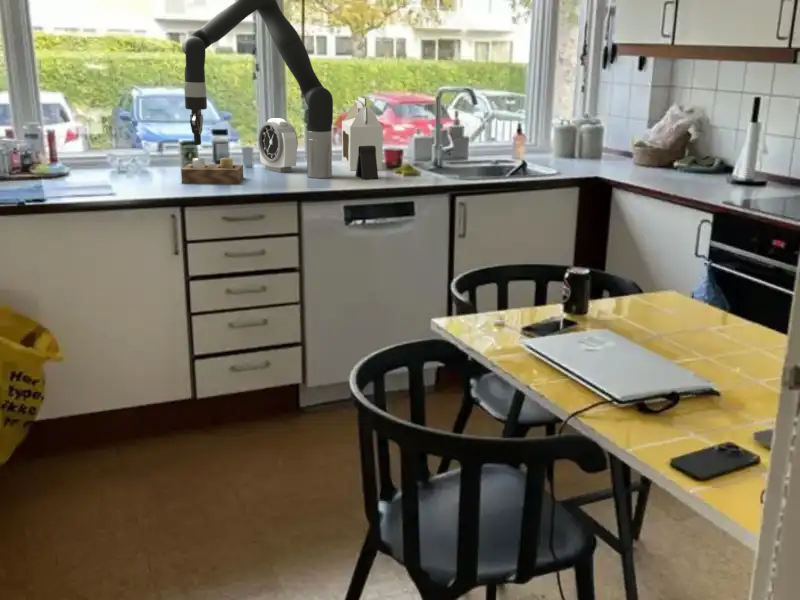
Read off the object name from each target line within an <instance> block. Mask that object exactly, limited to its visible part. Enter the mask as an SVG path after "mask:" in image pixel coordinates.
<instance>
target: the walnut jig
mask: <svg viewBox="0 0 800 600" xmlns="http://www.w3.org/2000/svg"><path fill="white" fill-rule="evenodd" d="M219 161H220V162H219V164H218V163H205V168H193V163H188V164H186V165H185V166H184V167H182V168H181V169H180V170H181V171H180V174H181V184H200V185H201V184H204V185H205V184H208V185H209V184H211V185H213V184H214V185H215V184H216V185H217V184H219V185H220V184H221V185H239V184H240V183H241V182H242V181H243V179H244V177H245V176H244V164H240V163H239V164H234V160H233V158H232V157H223V158H220V159H219Z"/></svg>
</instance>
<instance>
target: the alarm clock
mask: <svg viewBox="0 0 800 600" xmlns="http://www.w3.org/2000/svg"><path fill="white" fill-rule="evenodd" d="M298 143H299V142H298V135H297V132H296V129H295V127H294V126H293V125H292V124H291V123H290V122H289V121H286V120H285V119H284V118H280V117H275V118H273V117H272V118H269V119H268V120H267V121H265V122H264V123H263V124H262V125H261V126H260V127H259V130H258V135H257V144H258V148H259V149H258V150H259V158H260V163H261V164H263V165H265V168H264V169H265V170H266V171H272V172H277V173H288V172H292V167H297V158H298V157H297V156H298Z"/></svg>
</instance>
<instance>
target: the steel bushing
mask: <svg viewBox="0 0 800 600" xmlns="http://www.w3.org/2000/svg"><path fill="white" fill-rule="evenodd" d="M191 164H193V168H205V164H206V158H205V157H192V163H191Z"/></svg>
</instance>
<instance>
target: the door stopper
mask: <svg viewBox="0 0 800 600" xmlns="http://www.w3.org/2000/svg"><path fill="white" fill-rule="evenodd" d="M378 171H379V170H377V161H376V147H375V146H359V148H358V161H357V168H356V171H355V177H356V178H359V179H361V180H365V181H366V180H379V172H378Z"/></svg>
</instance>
